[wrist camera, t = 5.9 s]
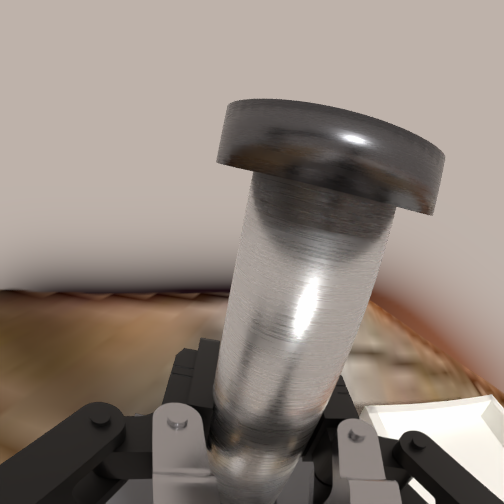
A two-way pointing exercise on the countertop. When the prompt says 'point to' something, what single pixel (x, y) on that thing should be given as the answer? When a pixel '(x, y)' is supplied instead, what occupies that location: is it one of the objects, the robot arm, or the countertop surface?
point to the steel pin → (302, 274)
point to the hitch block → (289, 500)
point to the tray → (451, 434)
